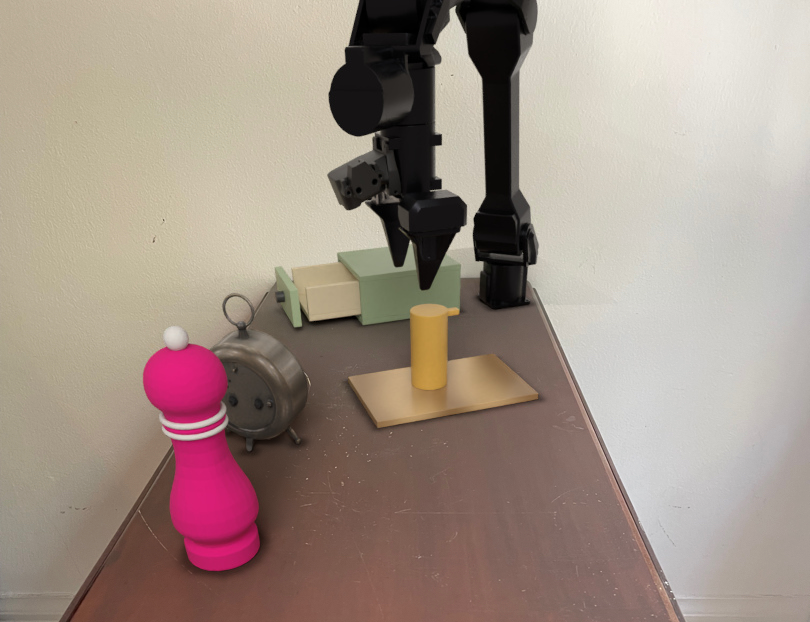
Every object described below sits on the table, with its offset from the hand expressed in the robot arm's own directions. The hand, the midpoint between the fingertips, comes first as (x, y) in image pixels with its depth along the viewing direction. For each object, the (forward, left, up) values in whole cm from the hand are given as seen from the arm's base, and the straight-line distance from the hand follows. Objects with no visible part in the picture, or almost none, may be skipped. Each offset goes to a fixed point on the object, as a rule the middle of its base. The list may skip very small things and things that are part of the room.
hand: (411, 277), depth 81 cm
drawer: (+4, -28, -12) cm, 30 cm away
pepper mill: (+27, +27, -13) cm, 40 cm away
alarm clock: (+21, +9, -13) cm, 26 cm away
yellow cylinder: (-1, +3, -12) cm, 12 cm away
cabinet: (-7, -28, -13) cm, 31 cm away
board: (-2, +4, -13) cm, 13 cm away
